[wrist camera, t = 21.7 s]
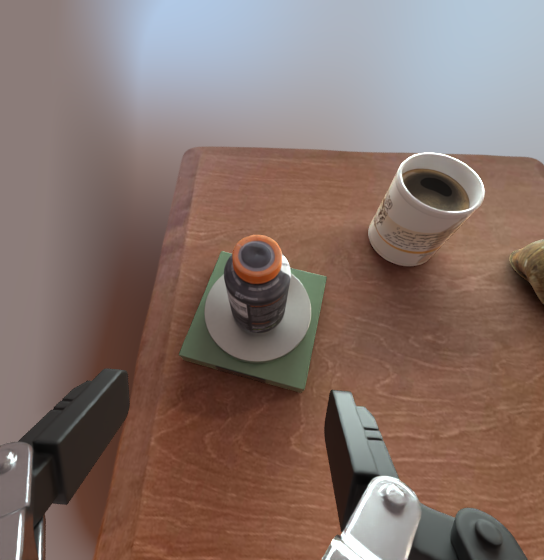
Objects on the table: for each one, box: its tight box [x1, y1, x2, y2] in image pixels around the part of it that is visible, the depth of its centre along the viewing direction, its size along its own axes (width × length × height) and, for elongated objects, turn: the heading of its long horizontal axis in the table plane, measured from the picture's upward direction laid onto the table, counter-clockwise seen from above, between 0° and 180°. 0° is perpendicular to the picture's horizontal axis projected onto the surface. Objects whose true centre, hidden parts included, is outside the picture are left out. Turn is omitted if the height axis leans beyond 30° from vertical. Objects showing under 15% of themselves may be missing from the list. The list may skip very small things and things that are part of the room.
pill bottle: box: [224, 235, 291, 333], centre depth 28 cm, size 6×6×11 cm
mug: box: [368, 153, 484, 266], centre depth 39 cm, size 10×12×11 cm
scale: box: [179, 251, 327, 393], centre depth 35 cm, size 14×14×4 cm
